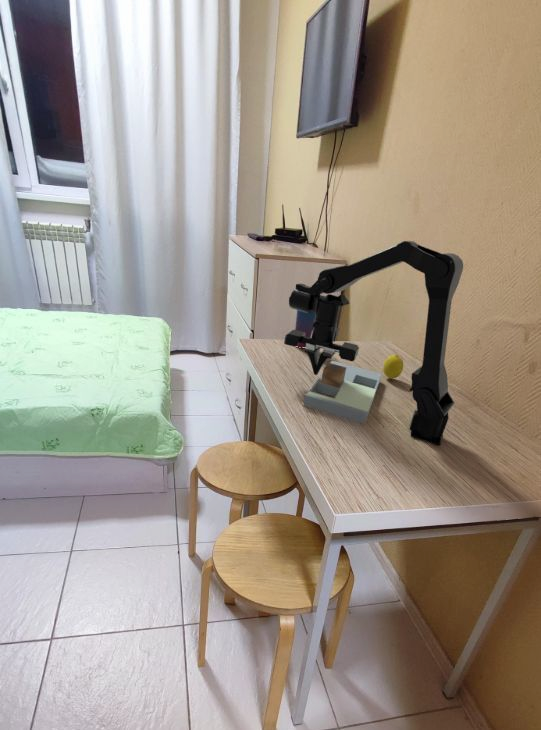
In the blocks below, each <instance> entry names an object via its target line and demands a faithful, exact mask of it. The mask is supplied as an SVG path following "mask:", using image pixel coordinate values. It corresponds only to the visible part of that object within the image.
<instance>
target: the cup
mask: <svg viewBox="0 0 541 730" xmlns="http://www.w3.org/2000/svg"><path fill="white" fill-rule="evenodd" d="M315 315H316V311H314V312H313V313H312V314H308V313H305V312H302V311H299V310H296V317H295V318H296V319H295V329H294V330H297V331H302V332H305V337H309V338H311V337H312V332H313V330H312V327H313V323H314V320H315ZM296 346H298V347H306V344H303V343H299V344H298V345H296Z"/></svg>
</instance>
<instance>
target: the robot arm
mask: <svg viewBox="0 0 541 730" xmlns="http://www.w3.org/2000/svg"><path fill="white" fill-rule="evenodd" d="M402 263H405V264H406V265H409V266H410V267H412V268H413V269H415V270H416V271H418V272H420V273H422V274H424V285H425V290H426V293H427V297H428V309H427V317H426V327H425V337H424V345H423V347H424V348H423V357H422V364H421V366H419V367H418V368H417V369H416V370H415V371H413V372H412V373H411V386H410V389H409V392H412V398H413V400H414V401H415V403H416V409H415V410H413V411H414V412H413V414H412V417H411V420H410V424H409V431H410V437H411V438H414V439H417V440H421V441H423V442H424V441H425V442H427V443H430V444H434V445H436V446H441V445H442V438H443V434H444V431H445V429H446V427H447V424H448V421H449V411H450V410H451V408H452V407H453V406H454V405H455V402H454V399H453V398H452V396H451V394H450V393H449V391H448V390H449V385H448V384H449V383H448V374H447V373H448V372H447V370H446V366H445V361H446V360H445V359H446V351H447V342H448V335H449V328H450V327H449V325H450V317H451V316H450V315H451V311H452V310H451V309H452V302H453V301H452V300H453V299H454V295H455V293H456V290H457V288H458V286H459V283H460V279H461V277H462V275H463V274H462V273H463V270H464V262H463V260H462V258H461V257H460V256H459V255H457V254H455V253H452V252H448V253H447V252H446V253H441V252H439V251H437V250H434V249H431V248H428V247H425V246H422V245H420V244H418V243H417V242H416V241H414V240H413V241H412V240H403V241H400V242H398V243H397V244H396V245H393V246H391V247H389V248H386V249H384V250H382V251H380V252H377V253H375V254H372V255H370V256H367V257H365V258H362V259H361V260H358V261H356V262H353V263H350V264H346V265H341V266H336V267H330V268H326V269H323V270H321V271H320V272H319V273H318V278H317V280H316V281H315V282H314V283H313V284H312V285H311V286H308V285H306V284H304V283H296V284H295V288H294V289H293V290H292V292H291V294H290V296H289V297H288V305H289V308H291V309H292V310H293V309H294V310H296V311H297V310H299V311H302V312H305V313H308V314H312V313H313V312H314V311H316V315H315V320H314V323H313V327H312V334H311V338H309V337H305V332H302V331H297V330H295V329H292V330H290V331H289V332H288V333H287V334H286V335H285V337H284V342H283V343H284V345H287V346H290V347H295V346H296V345H298V344H299V343H303V344H306V349H303V351H304V353H306V354H307V356H308V359H309V361H310V364H311V367H312V372H313V375H315V376H317V375H318V374H319V372H320V370H321V369H322V367H323V365H324V364H325V362H326V361H327V359H329V360H330V359H332V358H333V356H335V354H336V353H338V357H339V358H340V359H342V360H345V361H349V362H355V360H356V359H357V356H358V355H359V350H360V348H359V345H358V344H355V343H351V342H347V341H345V342H343V344H342V345H341V344H337V343H334V342H336V340H337V338H338V334H339V330H340V328H339V327H338V319H339V315H340V310H341V307H345V306H348V305H350V301H349V300H348V298H347V297H346V295H345V294H340V295H335V294H333V293H338V292H339V293H340V292H343V291H345V290H346V289H348V288H350V287H352V286H353V285H354V284H355V283H357V282H358V281H360V280H361V279H364V278H366V277H368V276H371V275H374V274H375V273H379V272H381V271H383V270H387V269H388V268H389V269H390V268H391V267H394V266H397V265H399V264H402ZM322 294H326V295H322ZM295 348H296V347H295ZM321 349H322V352H321ZM320 352H321V353H320Z"/></svg>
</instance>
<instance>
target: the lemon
mask: <svg viewBox="0 0 541 730" xmlns="http://www.w3.org/2000/svg"><path fill="white" fill-rule="evenodd" d="M382 369H383V374H384V375H385V376H386V377H387V378H388V380H392V379H396V378H398V377H399V376H401V374H402V373H403V371H404V361H403V358H402V357H400V356H399V355H398V354H393V355H389V356H388V357H387V358H386V359H385V361H384V363H383V367H382Z"/></svg>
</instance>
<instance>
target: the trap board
mask: <svg viewBox="0 0 541 730" xmlns="http://www.w3.org/2000/svg"><path fill="white" fill-rule="evenodd" d="M330 363H331V364H335V365H339V366H342V367H346V372H345V376H344V381H343V383H342V384H341V386H340V388H337V387H334V386H330V385H327V384H324V383H321V379H322V374H323V372H322V374H320V376H319V378H318V379H317V380H316V382H315V383H314V384H313V386H312V387H311V388H310V390H309V391H308V392H307V393H305V395H304V401H303V406H304V407H307V408H309V409H313V410H316V411H319V412H322V413H325V414H328V415H332V416H336V417H338V418H342V419H345V420H347V421H351V422H355V423H358V424H360V425H365V424H366V421H367V418H368V417H369V413H370V410H371V407H372V404H373V402H374V398H375V396H376V393H377V391H378V387H379V385H380V382H381V378H382V373H379V372H376V371H371V370H368V369H364V368H361V367H357V366H352V365H349V364H345V363H342V362H337V361H336V360H335V361H334V360H331V361H330ZM317 392H318V393H317ZM321 393H322V394H321ZM324 394H325V395H324ZM327 395H328V396H327ZM331 396H332V397H331Z"/></svg>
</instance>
